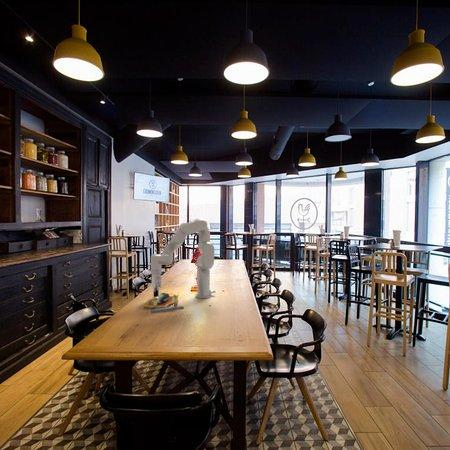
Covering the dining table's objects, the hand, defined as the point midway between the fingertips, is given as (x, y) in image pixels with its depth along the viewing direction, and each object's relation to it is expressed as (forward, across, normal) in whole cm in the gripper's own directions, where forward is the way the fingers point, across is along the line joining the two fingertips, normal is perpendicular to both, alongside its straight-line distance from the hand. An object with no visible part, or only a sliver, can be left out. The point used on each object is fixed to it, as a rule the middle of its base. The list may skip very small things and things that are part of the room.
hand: (156, 296), depth 225 cm
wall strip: (+3, -25, 0) cm, 25 cm away
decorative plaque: (+4, -7, -2) cm, 8 cm away
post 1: (+3, -23, +7) cm, 24 cm away
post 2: (+3, -22, -7) cm, 24 cm away
